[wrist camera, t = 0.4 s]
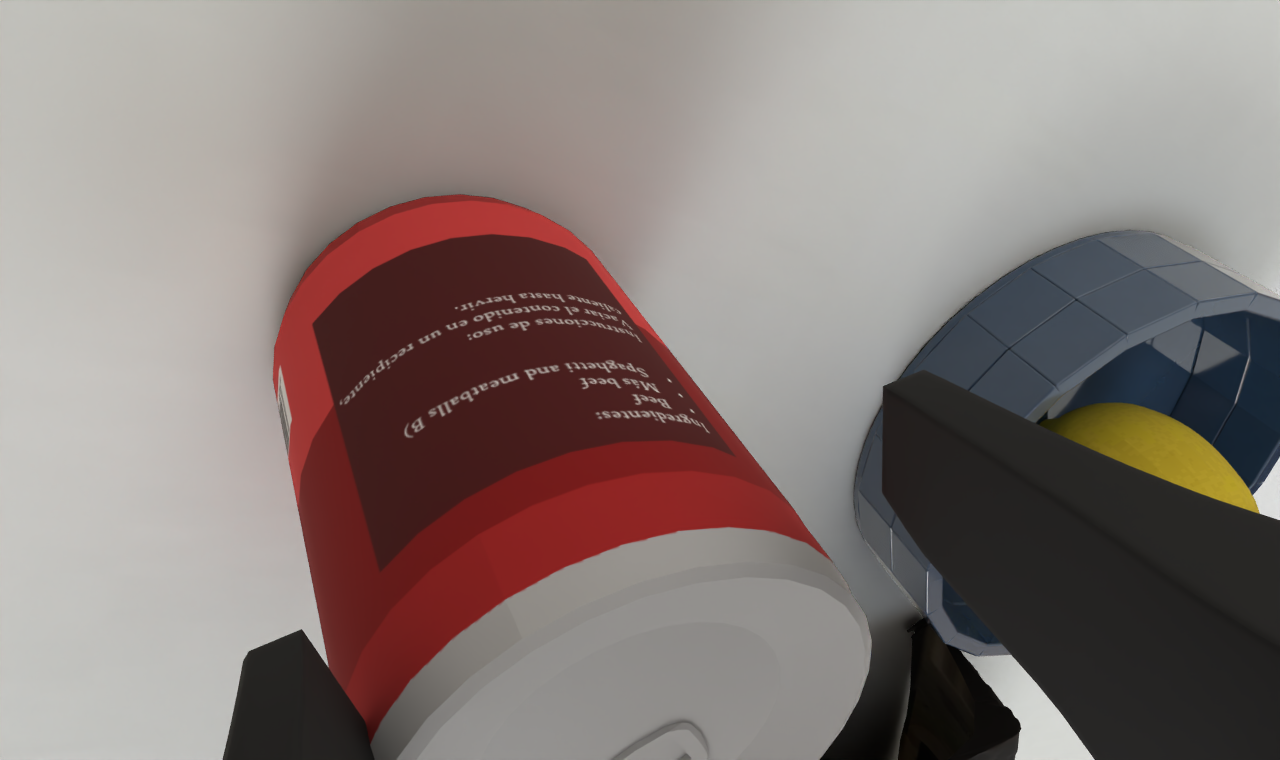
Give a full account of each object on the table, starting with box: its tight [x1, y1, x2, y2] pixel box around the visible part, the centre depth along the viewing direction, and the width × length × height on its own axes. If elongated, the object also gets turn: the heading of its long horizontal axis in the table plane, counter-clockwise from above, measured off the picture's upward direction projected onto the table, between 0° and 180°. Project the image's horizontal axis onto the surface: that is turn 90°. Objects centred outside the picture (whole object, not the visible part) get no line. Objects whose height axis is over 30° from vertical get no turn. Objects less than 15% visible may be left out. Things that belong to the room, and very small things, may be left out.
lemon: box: [1039, 403, 1260, 514], centre depth 29 cm, size 6×6×8 cm
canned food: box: [273, 194, 872, 760], centre depth 17 cm, size 8×8×11 cm
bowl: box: [854, 230, 1280, 656], centre depth 30 cm, size 14×14×4 cm
